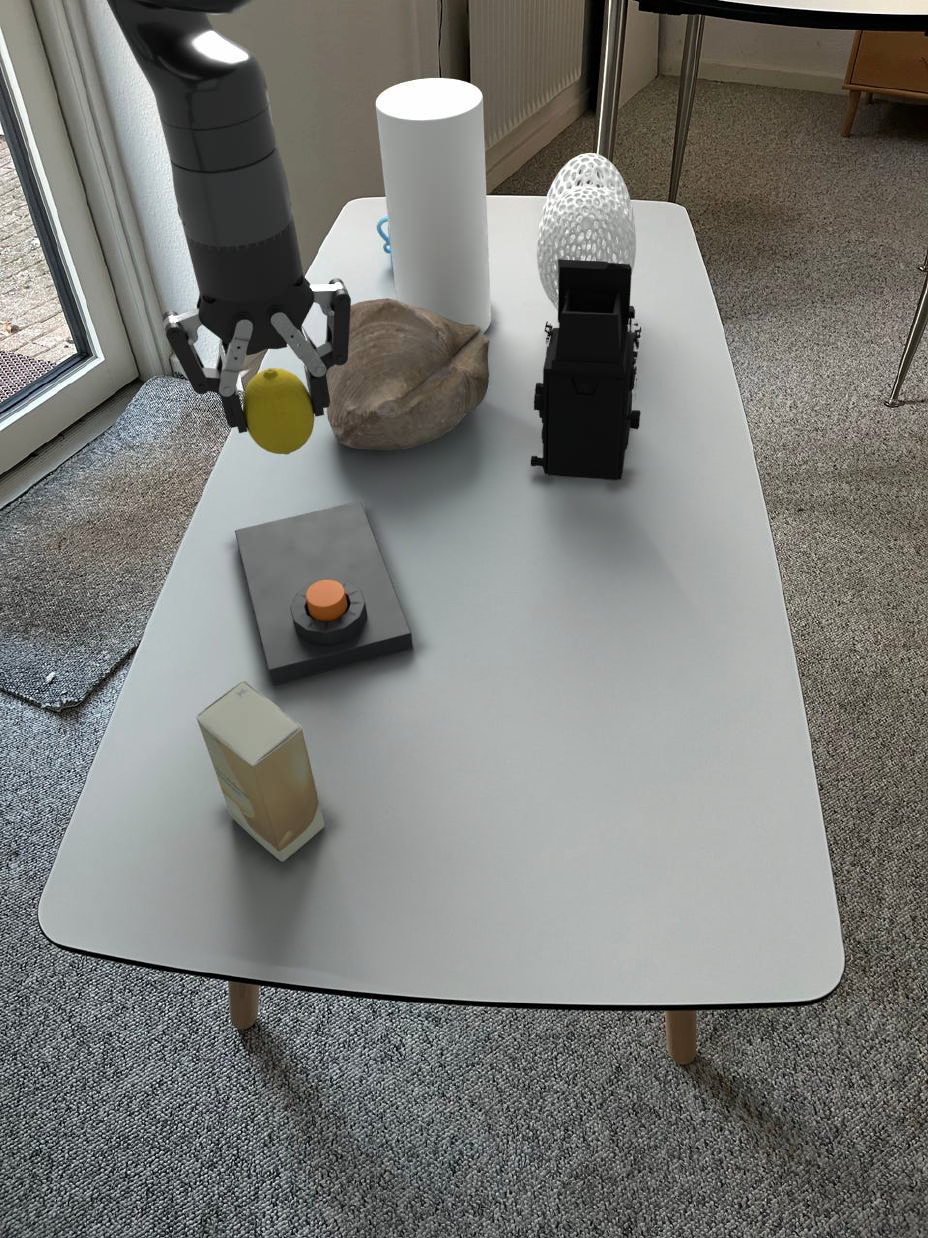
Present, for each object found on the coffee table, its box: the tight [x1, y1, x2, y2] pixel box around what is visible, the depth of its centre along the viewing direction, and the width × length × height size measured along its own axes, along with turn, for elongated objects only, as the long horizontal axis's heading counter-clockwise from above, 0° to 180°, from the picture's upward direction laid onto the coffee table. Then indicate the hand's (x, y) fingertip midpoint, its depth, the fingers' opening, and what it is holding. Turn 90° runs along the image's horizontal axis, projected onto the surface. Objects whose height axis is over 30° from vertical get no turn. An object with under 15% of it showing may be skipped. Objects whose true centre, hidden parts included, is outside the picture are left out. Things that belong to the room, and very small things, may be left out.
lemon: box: [242, 367, 315, 455], centre depth 85 cm, size 6×6×8 cm
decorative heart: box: [536, 152, 637, 311], centre depth 117 cm, size 18×11×17 cm, turn 175°
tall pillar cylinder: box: [375, 77, 492, 334], centre depth 115 cm, size 11×11×25 cm
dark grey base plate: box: [234, 500, 414, 686], centre depth 93 cm, size 12×18×4 cm, turn 17°
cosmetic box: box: [195, 680, 326, 863], centre depth 74 cm, size 6×4×12 cm
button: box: [306, 580, 347, 621], centre depth 88 cm, size 3×3×2 cm
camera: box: [530, 259, 643, 481], centre depth 100 cm, size 10×14×20 cm
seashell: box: [324, 297, 490, 451], centre depth 108 cm, size 16×17×15 cm
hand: (280, 417), depth 85 cm, fingers closed on lemon, 5 cm apart
